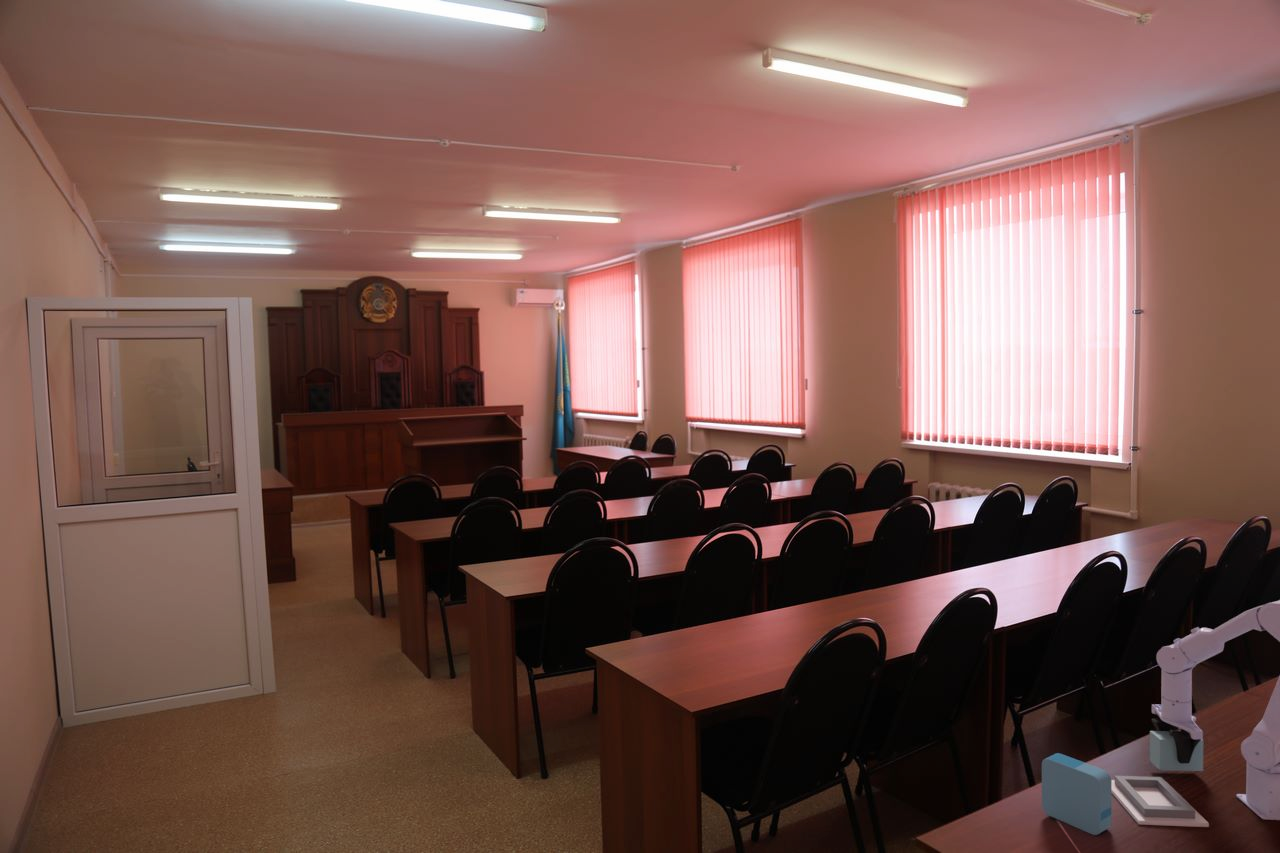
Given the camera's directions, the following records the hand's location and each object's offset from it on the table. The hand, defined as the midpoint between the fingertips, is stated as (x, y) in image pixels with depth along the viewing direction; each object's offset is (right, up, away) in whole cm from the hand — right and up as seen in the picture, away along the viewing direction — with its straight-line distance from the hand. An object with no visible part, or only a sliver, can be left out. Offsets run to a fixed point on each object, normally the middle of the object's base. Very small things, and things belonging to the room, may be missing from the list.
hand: (1176, 757), depth 186 cm
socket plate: (-13, -5, -12) cm, 18 cm away
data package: (-32, -6, -18) cm, 37 cm away
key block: (0, -2, 0) cm, 2 cm away
